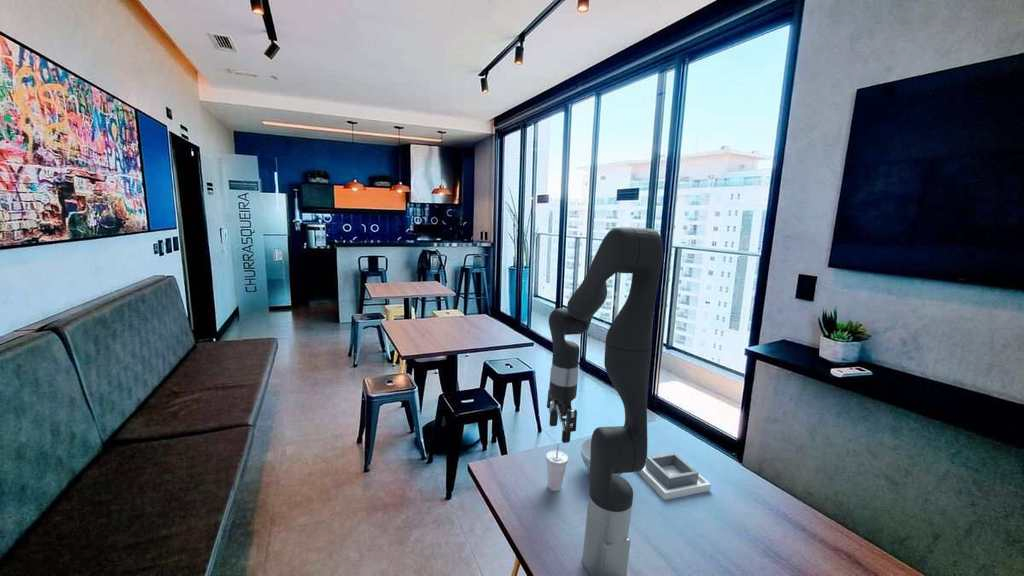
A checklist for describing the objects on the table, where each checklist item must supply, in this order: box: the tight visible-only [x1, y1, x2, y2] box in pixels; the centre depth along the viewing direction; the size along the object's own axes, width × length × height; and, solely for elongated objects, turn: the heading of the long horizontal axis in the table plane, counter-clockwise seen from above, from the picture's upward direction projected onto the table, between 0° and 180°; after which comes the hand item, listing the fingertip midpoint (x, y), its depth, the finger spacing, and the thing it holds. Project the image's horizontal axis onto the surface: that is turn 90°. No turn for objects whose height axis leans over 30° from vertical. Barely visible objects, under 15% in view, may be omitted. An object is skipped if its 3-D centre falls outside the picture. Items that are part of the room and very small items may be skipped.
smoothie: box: [545, 442, 569, 492], centre depth 115 cm, size 6×6×14 cm
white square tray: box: [637, 452, 712, 501], centre depth 123 cm, size 15×16×5 cm
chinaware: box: [579, 437, 623, 476], centre depth 123 cm, size 15×15×8 cm
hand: (559, 433), depth 114 cm, fingers open, 8 cm apart
